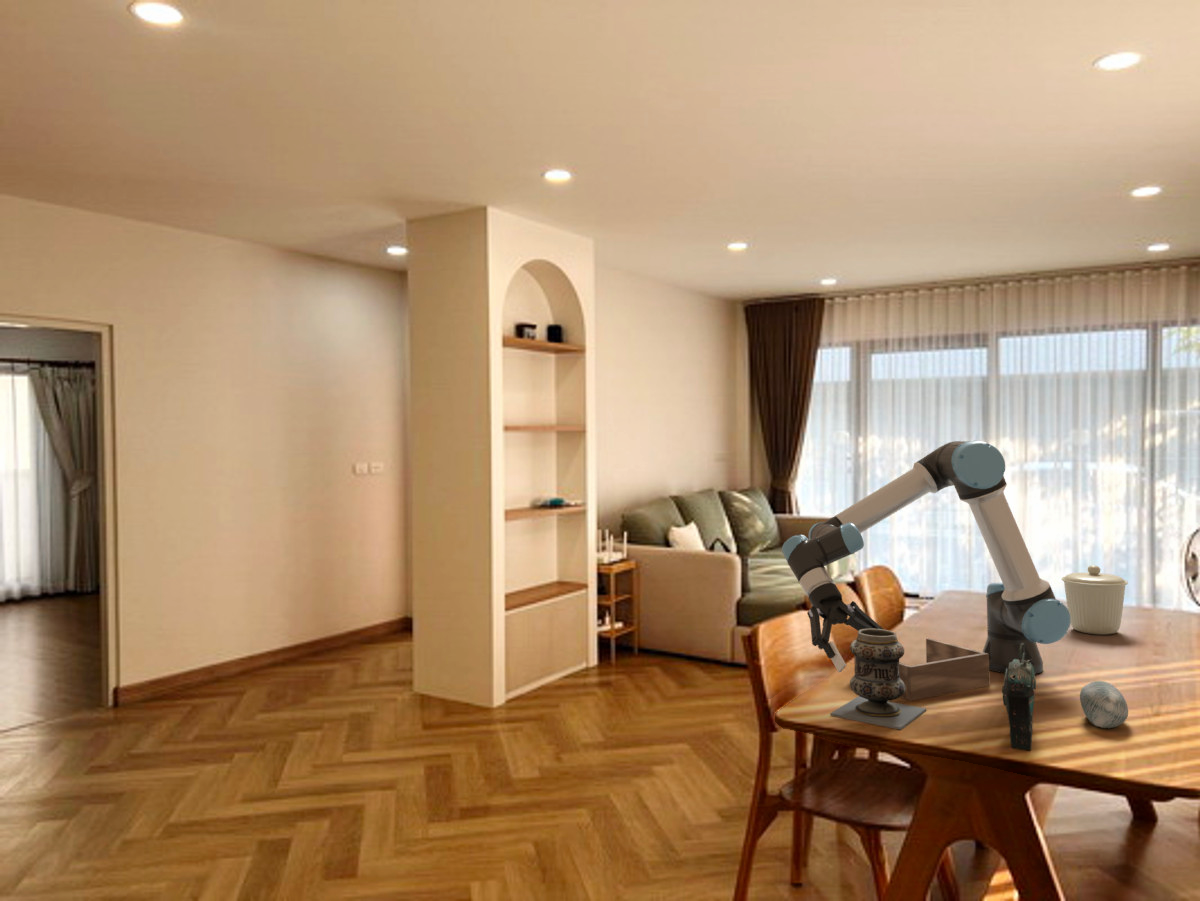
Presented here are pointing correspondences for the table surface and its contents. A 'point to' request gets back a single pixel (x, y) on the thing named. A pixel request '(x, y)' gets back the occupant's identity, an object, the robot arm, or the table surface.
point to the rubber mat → (894, 722)
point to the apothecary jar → (877, 671)
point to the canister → (1095, 601)
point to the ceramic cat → (1020, 700)
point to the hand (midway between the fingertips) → (865, 665)
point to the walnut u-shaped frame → (944, 671)
